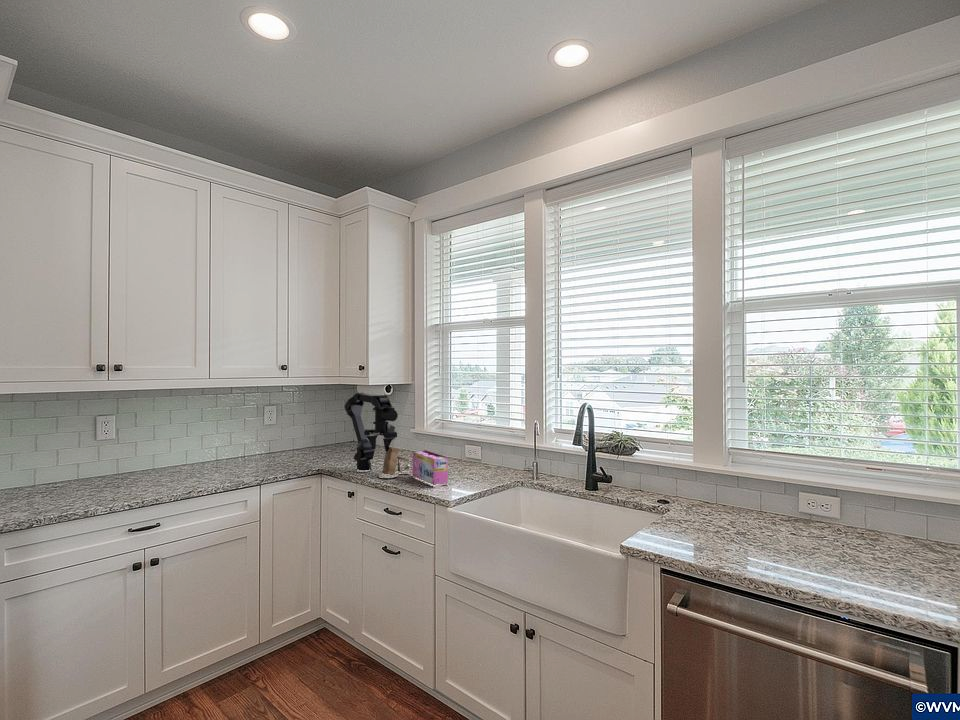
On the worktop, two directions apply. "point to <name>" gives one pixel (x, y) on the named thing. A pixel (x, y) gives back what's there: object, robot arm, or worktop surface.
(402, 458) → the bronze balance
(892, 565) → the worktop surface
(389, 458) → the walnut block
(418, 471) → the gum box
